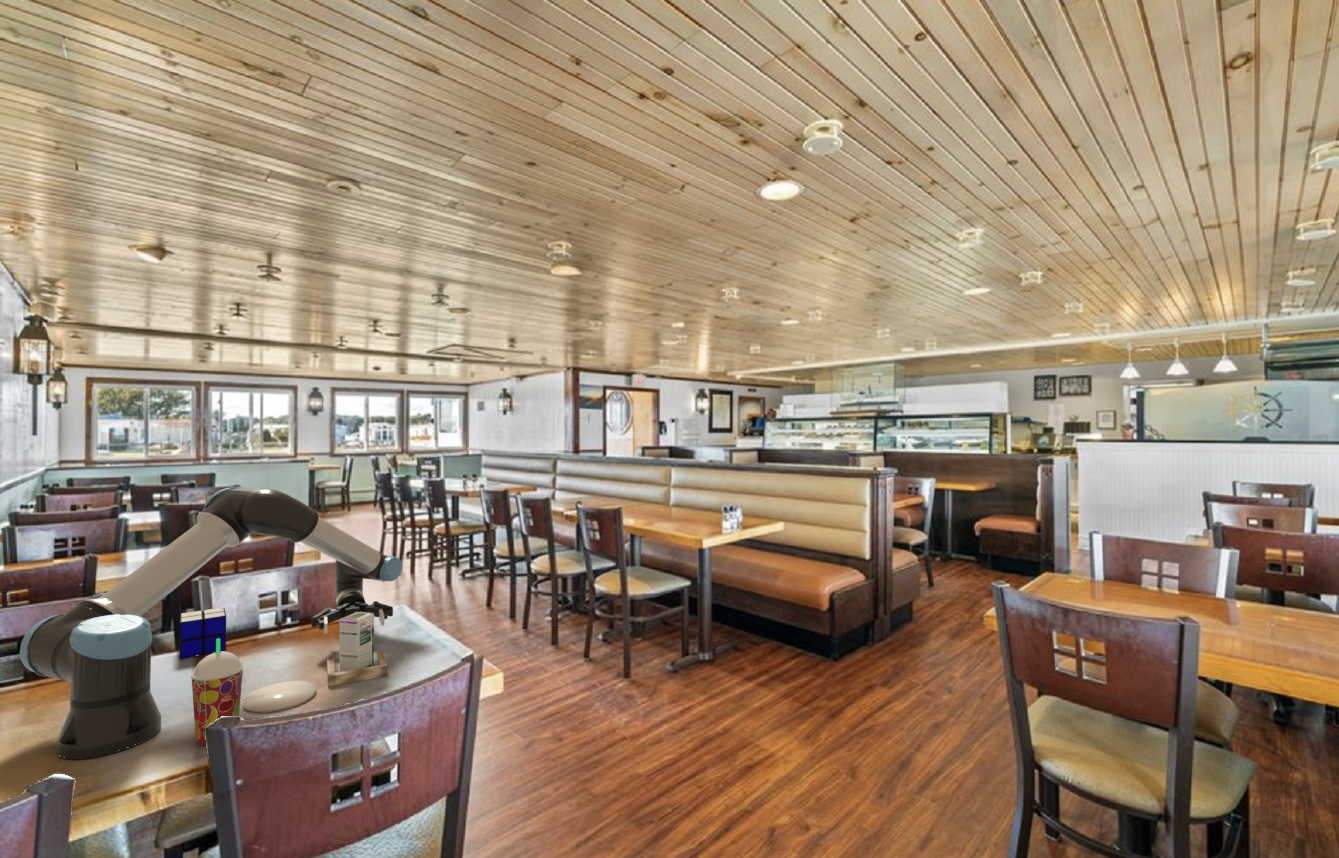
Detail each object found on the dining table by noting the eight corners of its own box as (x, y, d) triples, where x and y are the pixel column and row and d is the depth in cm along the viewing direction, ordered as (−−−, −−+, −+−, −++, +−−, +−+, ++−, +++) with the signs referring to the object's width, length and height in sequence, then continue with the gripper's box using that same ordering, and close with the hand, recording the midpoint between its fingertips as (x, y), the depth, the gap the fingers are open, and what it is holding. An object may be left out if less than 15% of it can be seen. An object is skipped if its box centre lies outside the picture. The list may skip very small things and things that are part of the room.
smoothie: (201, 731, 121) (202, 633, 121) (249, 725, 124) (250, 630, 124) (181, 753, 113) (183, 648, 113) (233, 746, 116) (234, 644, 116)
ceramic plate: (239, 718, 127) (239, 713, 127) (246, 692, 139) (246, 688, 139) (315, 703, 134) (315, 699, 134) (315, 680, 146) (315, 676, 146)
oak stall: (327, 686, 143) (328, 676, 143) (327, 669, 153) (327, 660, 153) (387, 675, 150) (387, 665, 150) (382, 660, 159) (383, 651, 159)
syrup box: (358, 677, 148) (359, 619, 148) (338, 675, 150) (339, 617, 150) (374, 668, 154) (375, 612, 154) (354, 666, 155) (355, 611, 155)
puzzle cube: (179, 660, 158) (179, 622, 158) (179, 649, 166) (179, 613, 166) (226, 651, 164) (226, 615, 164) (224, 641, 172) (224, 606, 172)
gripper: (396, 610, 185) (405, 630, 167) (302, 623, 172) (300, 646, 154) (396, 586, 185) (405, 604, 167) (302, 597, 172) (300, 618, 154)
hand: (355, 624), depth 160 cm, fingers open, 13 cm apart
